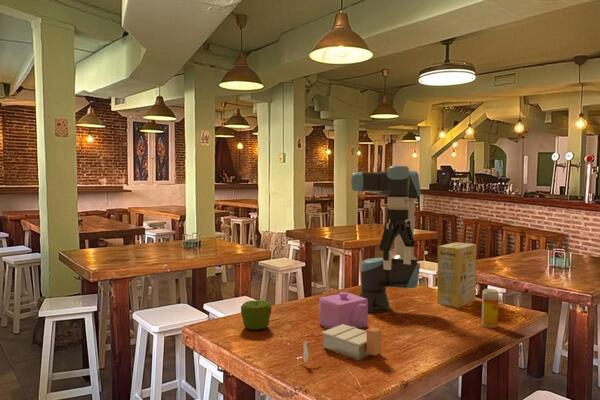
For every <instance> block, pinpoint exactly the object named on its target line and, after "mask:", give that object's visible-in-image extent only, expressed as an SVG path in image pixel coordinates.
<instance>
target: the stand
mask: <svg viewBox="0 0 600 400" xmlns="http://www.w3.org/2000/svg"><path fill="white" fill-rule="evenodd" d="M309 346H310V344H309V342H308V341H307V340H304V341H303V359H304V362H308V359H309Z"/></svg>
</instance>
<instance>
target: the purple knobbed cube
mask: <svg viewBox="0 0 600 400" xmlns="http://www.w3.org/2000/svg"><path fill="white" fill-rule="evenodd" d="M318 303H319V307H318V308H319V309H318V311H319V313H318V315H319V319H318V321H319V324H320V325H322V326H324V327H326V328H325V329H327V328H328V329H331V328H334V327H336V326H339V325H342V324H344V325H347V326H351V327H355V328H357V329H359V328H361V329H364V328H363V327H365V328H368V327H369V325H368V323H369V321H368V320H369V319H368V318H369V315H368V314H369V312H368V299H366V298H363V297H360V295H356V294H354V293H350V292H346V291H340V292H339V293H336V294H331V295H327V296H322V297H321V296H320V297H319V302H318ZM319 324H318V325H319ZM320 325H319V326H320ZM322 326H321V327H322ZM367 326H368V327H367ZM324 327H323V328H324ZM328 329H327V330H328Z"/></svg>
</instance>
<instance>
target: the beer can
mask: <svg viewBox="0 0 600 400" xmlns="http://www.w3.org/2000/svg"><path fill="white" fill-rule="evenodd" d="M481 300H482V303H481V324H482V326H483V327H485V328H487V329H496V328H497V327H498V326H499V291H498V290H497V289H495V288H483V290H482V296H481Z"/></svg>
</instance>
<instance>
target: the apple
mask: <svg viewBox="0 0 600 400" xmlns="http://www.w3.org/2000/svg"><path fill="white" fill-rule="evenodd" d="M240 314H241V319H242V322H243V323H242V324H243V325H244V327H245V328H247V329H248V330H251V331H261V329H262V330H265V329H266V328H267V327H268V326H269V325H270V317H271V315H272V305H271V304H270V303H269V302H267V301H265V300H255V299H254V300H248V301H245V302H244V303H243V304H241V305H240Z"/></svg>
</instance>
